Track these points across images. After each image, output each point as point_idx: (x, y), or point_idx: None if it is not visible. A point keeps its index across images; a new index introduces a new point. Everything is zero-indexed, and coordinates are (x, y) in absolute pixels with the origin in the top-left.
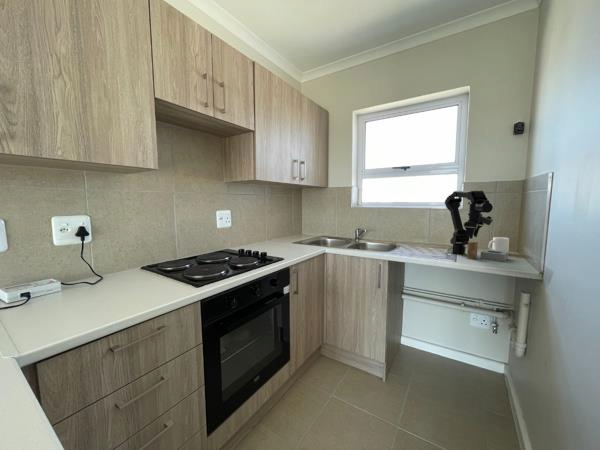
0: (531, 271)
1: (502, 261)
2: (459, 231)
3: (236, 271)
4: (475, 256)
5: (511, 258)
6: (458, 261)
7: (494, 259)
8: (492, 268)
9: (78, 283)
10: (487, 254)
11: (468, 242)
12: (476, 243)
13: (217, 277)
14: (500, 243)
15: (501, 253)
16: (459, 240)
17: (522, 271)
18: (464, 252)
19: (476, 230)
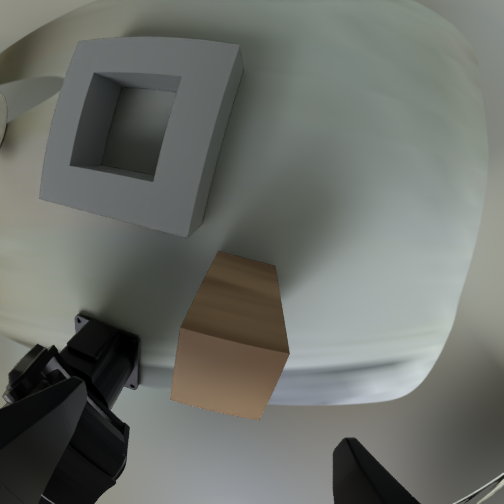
0: (438, 18)
1: (241, 76)
2: (73, 502)
3: (481, 490)
4: (262, 270)
5: None
6: (389, 350)
7: (225, 124)
8: (483, 185)
9: (496, 491)
10: (203, 177)
11: (261, 413)
12: (254, 339)
13: (498, 479)
14: None
15: (169, 64)
16: (119, 439)
17: (465, 57)
18: (113, 331)
19: (19, 462)
